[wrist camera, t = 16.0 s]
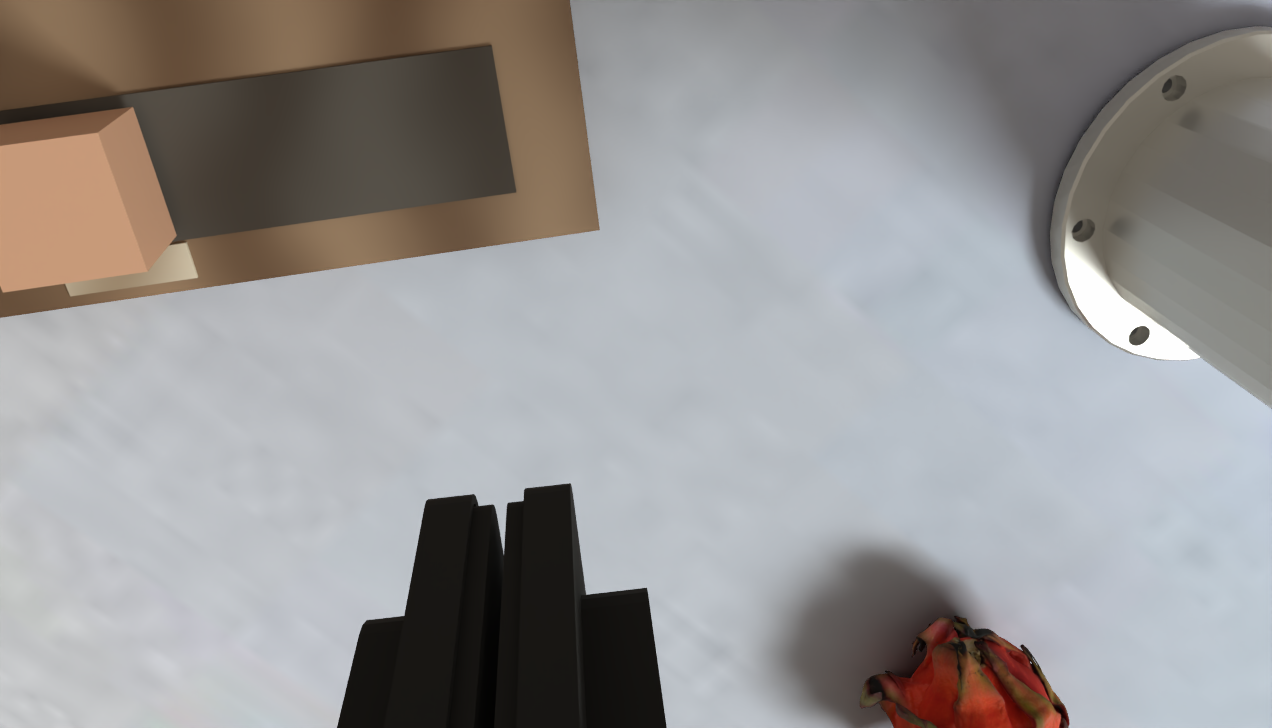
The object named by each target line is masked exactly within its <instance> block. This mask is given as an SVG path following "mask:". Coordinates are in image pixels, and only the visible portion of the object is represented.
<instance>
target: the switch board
mask: <svg viewBox="0 0 1272 728" xmlns="http://www.w3.org/2000/svg"><path fill="white" fill-rule="evenodd" d="M128 107H133V108H134V111H135V114H136V117H137V120H138V123H139V126H140V129H141V132H142V135H143V138H144V141H145V144H146V147H147V149H148V152H149V155H150V158H151V161H152V164H153V167H154V170H155V173H156V176H157V179H158V182H159V185H160V188H161V191H162V194H163V197H164V200H165V203H166V205H167V208H168V211H169V214H170V217H171V220H172V223H173V226H174V229H175V232H176V235H177V236H176V237H175V238H174V240H173V241H172V242H171V243H170V245H169V246H168V247H167V248H166V250H165V251H164V252H163V253H162V255H161V256H160V257H159V258H158V260H157V261H156V262H155V263H154V264H153V266H152V267H151V268H150V269H149V271H148V272H142V273H135V274H128V275H121V276H114V277H107V278H101V279H94V280H87V281H80V282H73V283H66V284H59V285H52V286H45V287H38V288H31V289H25V290H18V291H11V292H4V293H3V291H2V289H1V287H0V318H1V317H8V316H15V315H22V314H29V313H35V312H42V311H49V310H56V309H63V308H70V307H76V306H83V305H90V304H97V303H104V302H111V301H117V300H124V299H131V298H138V297H145V296H152V295H158V294H165V293H172V292H179V291H186V290H193V289H199V288H206V287H213V286H220V285H227V284H234V283H240V282H247V281H254V280H261V279H268V278H275V277H281V276H288V275H295V274H302V273H309V272H316V271H322V270H329V269H336V268H343V267H350V266H357V265H363V264H370V263H377V262H384V261H391V260H398V259H404V258H411V257H418V256H425V255H432V254H439V253H445V252H452V251H459V250H466V249H473V248H480V247H486V246H493V245H500V244H507V243H514V242H521V241H527V240H534V239H541V238H548V237H555V236H562V235H568V234H575V233H582V232H589V231H596V230H600V229H599V222H598V214H597V206H596V199H595V191H594V183H593V176H592V168H591V160H590V153H589V145H588V138H587V130H586V122H585V115H584V107H583V99H582V92H581V84H580V76H579V69H578V61H577V54H576V46H575V38H574V31H573V23H572V15H571V8H570V0H0V125H2V124H9V123H17V122H24V121H32V120H39V119H47V118H54V117H61V116H69V115H76V114H84V113H91V112H99V111H106V110H113V109H121V108H128Z"/></svg>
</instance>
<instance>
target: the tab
mask: <svg viewBox="0 0 1272 728" xmlns="http://www.w3.org/2000/svg"><path fill="white" fill-rule="evenodd" d="M176 236H177V235H176V232H175V229H174V226H173V223H172V220H171V217H170V214H169V211H168V208H167V205H166V203H165V200H164V197H163V194H162V191H161V188H160V185H159V182H158V179H157V176H156V173H155V170H154V167H153V164H152V161H151V158H150V155H149V152H148V149H147V147H146V144H145V141H144V138H143V135H142V132H141V129H140V126H139V123H138V120H137V117H136V114H135V111H134V108H133V107H128V108H121V109H113V110H106V111H99V112H91V113H84V114H76V115H69V116H61V117H54V118H47V119H39V120H32V121H24V122H17V123H9V124H2V125H0V287H1V289H2V291H3V293H4V292H11V291H18V290H25V289H31V288H38V287H45V286H52V285H59V284H66V283H73V282H80V281H87V280H94V279H101V278H107V277H114V276H121V275H128V274H135V273H142V272H148V271H149V269H150V268H151V267H152V266H153V264H154V263H155V262H156V261H157V260H158V258H159V257H160V256H161V255H162V253H163V252H164V251H165V250H166V248H167V247H168V246H169V245H170V243H171V242H172V241H173V240H174V238H175V237H176Z"/></svg>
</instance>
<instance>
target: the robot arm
mask: <svg viewBox="0 0 1272 728" xmlns="http://www.w3.org/2000/svg"><path fill="white" fill-rule="evenodd" d="M1050 244H1051V261H1052V265H1053V269H1054V272H1055V276H1056V279H1057V283H1058V287H1059V289H1060V291H1061V292H1062V294H1063V296H1064V298H1065V300H1066V301H1067V303H1068V305H1069V307H1070V308H1071V310H1072V311H1073V312H1074V313H1075V314H1076V315H1077V316H1078V317H1079V318H1080V320H1081V321H1082V322H1083V323H1084V324H1085V325H1086V326H1087V327H1088V328H1089V329H1091V330H1092V331H1093V332H1095V333H1096V334H1097V335H1099V336H1100V337H1101V338H1103V339H1104V340H1105V341H1107V342H1108V343H1109V344H1111V345H1113V346H1115V347H1117V348H1119V349H1121V350H1123V351H1125V352H1127V353H1130V354H1133V355H1137V356H1142V357H1146V358H1151V359H1155V360H1191V359H1197V358H1202V359H1203V360H1204V361H1206V362H1207V363H1209V364H1210V365H1211V366H1213V367H1214V368H1216V369H1217V370H1218V371H1220V372H1221V373H1222V374H1224V375H1225V376H1227V377H1228V378H1229V379H1231V380H1232V381H1234V382H1235V383H1236V384H1238V385H1239V386H1240V387H1242V388H1243V389H1245V390H1246V391H1247V392H1249V393H1250V394H1252V395H1253V396H1254V397H1256V398H1257V399H1258V400H1260V401H1261V402H1263V403H1264V404H1265V405H1267V406H1268V407H1270V408H1271V409H1272V27H1264V26H1253V27H1246V28H1239V29H1232V30H1225V31H1221V32H1219V33H1216V34H1213V35H1210V36H1207V37H1204V38H1201V39H1198V40H1195V41H1192V42H1190V43H1188V44H1186V45H1184V46H1182V47H1180V48H1178V49H1177V50H1175V51H1173V52H1171V53H1169V54H1167V55H1165V56H1164V57H1162V58H1160V59H1158V60H1157V61H1156V62H1154V63H1153V64H1152V65H1150V66H1149V67H1148V68H1146V69H1145V70H1144V71H1142V72H1141V73H1140V74H1138V75H1137V76H1136V77H1134V78H1133V79H1132V80H1130V81H1129V82H1128V83H1127V84H1126V85H1125V86H1124V87H1123V88H1122V89H1121V90H1120V91H1119V92H1118V93H1117V94H1116V95H1115V96H1114V97H1113V98H1112V99H1111V100H1110V101H1109V102H1108V103H1107V105H1106V106H1105V107H1104V108H1103V109H1102V110H1101V111H1100V113H1099V114H1098V115H1097V117H1096V118H1095V120H1094V121H1093V122H1092V124H1091V125H1090V126H1089V128H1088V129H1087V131H1086V132H1085V133H1084V135H1083V136H1082V138H1081V139H1080V141H1079V143H1078V145H1077V147H1076V149H1075V151H1074V153H1073V155H1072V157H1071V158H1070V160H1069V162H1068V164H1067V166H1066V168H1065V170H1064V173H1063V176H1062V179H1061V182H1060V185H1059V189H1058V192H1057V195H1056V198H1055V201H1054V207H1053V214H1052V221H1051V228H1050ZM337 728H666V720H665V713H664V706H663V699H662V692H661V684H660V677H659V670H658V663H657V656H656V648H655V641H654V634H653V627H652V620H651V612H650V605H649V598H648V592H647V588H642V589H633V590H624V591H616V592H607V593H599V594H590V595H586V591H585V584H584V576H583V568H582V561H581V553H580V546H579V538H578V530H577V523H576V515H575V507H574V500H573V493H572V487H571V483H570V484H561V485H553V486H544V487H535V488H526V489H525V490H524V501H521V502H512V503H508V504H507V515H506V532H505V549H504V554H503V548H502V543H501V537H500V531H499V526H498V520H497V514H496V510H495V507H494V505H485V506H478V502H477V499H476V496H475V495H474V494H472V495H463V496H454V497H446V498H437V499H428V500H427V501H426V504H425V508H424V513H423V518H422V524H421V529H420V535H419V540H418V545H417V551H416V556H415V562H414V567H413V572H412V578H411V583H410V589H409V594H408V599H407V605H406V610H405V616H400V617H392V618H383V619H375V620H367V621H366V622H365V623H364V624H363V625H362V628H361V631H360V634H359V638H358V642H357V646H356V650H355V655H354V659H353V663H352V667H351V671H350V676H349V680H348V684H347V688H346V692H345V697H344V701H343V705H342V709H341V713H340V718H339V722H338V726H337Z"/></svg>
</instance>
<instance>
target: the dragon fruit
mask: <svg viewBox="0 0 1272 728" xmlns="http://www.w3.org/2000/svg"><path fill="white" fill-rule="evenodd" d="M954 617H955V618H956V622H953V621H952V620H951V619H948V618H942V617H940V618H938V619H937V620H936V621H935V622H934V623H933V624H932V625H930V624H931V623H930V624H929V626H930V627H927V629H925V631H923V632H920V633H919V634H918V636H917V637H916V641H915V642H914V643H912V644H913V649H912V650H913V654H912V657H913V656H914V655H915V653H916V650H917V646H918V644H919V643H920V647H919V651H920V652H922V651H923V649H924V648H925V646H926V644H927V655H926V657H925V659H924V660H923V662H922V663H921V664H920V665H919V667H918V668H917V669H916V671H915V672H914V674H913V675H912V677H911V678H904V677H898V676H896V675H895V674H893V673H892V672H890V671H885V672H886V673H884V674H878V675H874V676H872V677H870V678H869V679H868V680H867V681H866V682H865V684H864V686H863V691H862V695H861V698H860V707H861V708H866V707H872V706H874V705H875V704H877V703H879V704H880V705H881V708H882V709H883V710H884V712H886V714H887V715H888V717H889V719H890V720H891V722H892V724H893V726H894V728H1068V726H1069V717H1068V713H1067V710H1066V708H1065V706H1064V704H1063V703H1062V702H1061V701H1060V699H1059V697H1058V696H1057V695H1056V694H1055V693H1054V692H1053V691H1052V689H1051V686H1050V684H1049V683H1048V681H1047V679H1046V678H1045V676H1044V674H1043V673H1042V671H1041V668H1040V666H1039V664H1038V663H1037V661H1036V660H1035V658H1034V657H1033V656H1032V654H1031V653H1030V651H1029V650H1028V649H1027V648H1026V647H1025V646H1024V645H1021V648H1022V650H1023V651H1022V650H1020V649H1018V648H1017V647H1015V646H1014V645H1012V644H1011V643H1010V642H1008V641H1007V640H1005V639H1003V638H1001V637H999V636H998V635H997V634H995V633H994V632H993V631H991V630H989V629H975V630H972V628H971V627H970V626H969V625H968V622H967V619H966V618H960V617H957V616H954ZM953 627H955V628H956V629H957V630H956V631H955V630H954V628H953ZM1032 657H1033V658H1034V660H1035V662H1036V663H1037V665H1038V666H1037V665H1036V663H1035V662H1034V660H1033V658H1032ZM1030 661H1031V662H1032V664H1031V663H1030Z"/></svg>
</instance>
